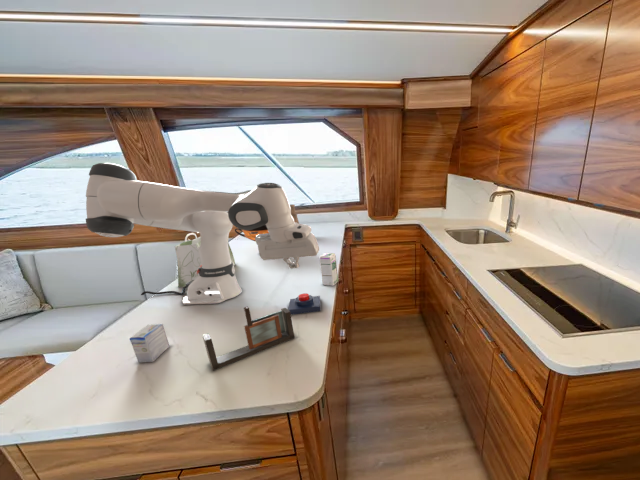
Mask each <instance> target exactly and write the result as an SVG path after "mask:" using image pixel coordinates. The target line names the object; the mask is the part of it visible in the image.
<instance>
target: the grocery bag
mask: <svg viewBox="0 0 640 480" xmlns="http://www.w3.org/2000/svg"><path fill="white" fill-rule="evenodd" d="M190 236H194V237H195V238H194V239H192V240H188V238H189V237H190ZM200 243H201V236H197V234H196V232H190V233H187V234H186V236H185V238H184V241H183V242H181V243H179V244H176V245H175V246H174V250H175V254H176V261H177V288H184V287H185V286H186V283H188V282H190V281H192V280H195V279H196V278H197V277H198V276H199V273H198V274H197V272H198V271H197V270H198V269H199V268H200V266H201V265H202V264H201V260H200V256H199V253H198V248H199V247H200ZM228 247H229V253H230V258H231V262H233V266H234V267H235V266H236V261H235V256H234V253H233V250H232V248H231V246H230V242H228Z"/></svg>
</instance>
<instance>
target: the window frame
mask: <svg viewBox="0 0 640 480" xmlns="http://www.w3.org/2000/svg"><path fill="white" fill-rule="evenodd" d="M275 315H278V316H279V322H280V328H281V334H282V337H281V338H278V339H276V340H273V341H271V342H268V343H266V344H263V345H260V346H258V347H255V348H253V349H249V346H248V344H247V345H245V346H242V347H240V348H236V349H234V350H231V351H229V352H227V353H224V354H221V355H219V356H217V354H216V350H215V347H214V343H213V339H212V337H211V335H210V334H209V333H207V332H206V333H204V334H202V335H201V336H202V339H203V343H204V346H205V350H206V354H207V357H208V361H209V365H210V367H211V369H212V371H213V372H214V371H216V370H219V369H222V368H225V367H227V366H228V365H231V364H234V363H237V362H239V361H242V360H244V359H246V358H249V357H252V356H254V355H257V354H259V353H261V352H264V351H266V350H269V349H271V348H273V347H276V346H278V345H281V344H284V343H286V342H288V341H291V340H293V339H295V333H294V327H293V319H292V315H291V313H290V311H289V310H288V307H283V308H281V310H279V311H276V312H273V313H270V314H267V315H263V316H261V317H258V318H255V319H251V320H252V323H254V322H257V321H260V320H263V319H266V318H269V317H272V316H275Z"/></svg>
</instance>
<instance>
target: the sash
mask: <svg viewBox="0 0 640 480" xmlns="http://www.w3.org/2000/svg"><path fill="white" fill-rule="evenodd" d="M243 311H244V318H245V320H246V325H244V326H243V328H244V333H245V337H246V341H247V345H248V346H249V349H253V348H255V347H258V346H260V345H263V344H266V343H268V342H271V341H273V340H276V339H278V338H281V337H282V334H281V328H280V322H279V316H278V315H275V316H272V317H269V318H266V319H263V320H260V321H257V322H254V323H252V320H253V319H252V315H251V311H250V307H249V306H245V307H243Z"/></svg>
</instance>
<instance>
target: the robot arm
mask: <svg viewBox="0 0 640 480" xmlns="http://www.w3.org/2000/svg"><path fill="white" fill-rule="evenodd" d="M88 176H89V178H88V182H87V186H86V192H85V197H86V199H85V205H86V206H85V208H86V209H85V210H86V218H85V224H86V228H87V229H88V230H89V231H90V232H91V233H95V234H96V235H99V236H102V237H106V238H122V237H124V236H126V237H127V236H128V235H130V234H131V233H132V231H133V230H134V227H135V225H140V226H145V227H146V226H147V227H154V228H161V229H169V230H176V231H186V232H191V233H197V234H199V236H200V237H201V243H200V247H199V248H198V253H199V256H200V260H201V264H202V265H201V266H200V268H199V269H198V270H197V271H198V272H197V274H198V273H199V276H198V277H197V278H196V279H195V280H192V281H190V282H188V283H186V286H185V287H182V292H179V291H175V290H165V291H157V292H156V291H155V292H154V291H151V290H150V291H149V290H145V291H142V292H141V294H140V296H144V295H145V294H149V295H164V294H176V295H180V296H183V295H185V293H186V295H185V296H184V297H183V298H182V300H181V301H182V305H211V304H220V303H223V302H225V301H227V300H231V299H233V298H236V297H237V296H239V295H241V293H242V292H243V290H242V288H241V286H240V284H239V282H238V280H237V276H236V270H235V265H234V266H233V262H231V258H230V253H229V247H228V243H229V237H230V232H231V230H233V228H234V227H235V228H236V229H237V228H238V229H241V230H252V229H255V228H258V227H261V226H263V225H266V226H267V229H268V232H269V233H266V234H258V235H257V236H256V238H255V241H254V242H255V243H256V245H257V249H258V254H259V257H260V259H261V260H263V261H271V260H283V262H284V263H286V265H288V268H289V269H290V270H292V269H299V267H300V265H299V260H300V258H308V257H317V255H318V254H319V251H320V245H319V243H318V240H317V238H316V236H315V234H314V233H312V227H311V225H308V224H303V223H300V222H299V223H295V221H294V219H293V217H292V215H291V207H290V205H291V204H290V201H289V199H288V196H287V192H286V191H285V189H284V188H283V186H282V185H280V184H279V183H275V182H263V183H262V182H261V183H258V184H256V186H255V187H254V188H253V189H249V190H244V191H240V192H224V191H216V190H215V191H214V190H213V191H212V190H203V189H202V190H201V189H193V188H188V187H181V186H176V185H171V184H170V185H169V184H163V183H159V182H150V181H143V180H138V179H137V176H136V174H135V173H134V172H133V171H132V169H129V168H126V167H125V166H124V165H123V166H122V165H120V164H116V163H113V162H112V163H111V162H98V163H95V164H93V165H92V166H91V168H90V169H89V172H88ZM291 259H293V260H294V261H291Z"/></svg>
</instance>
